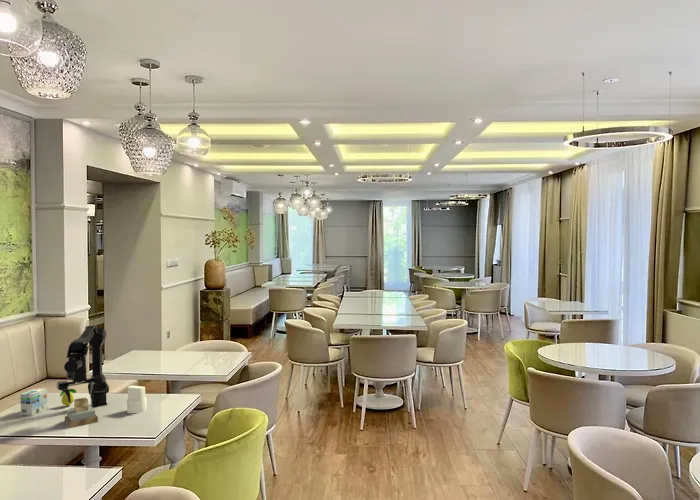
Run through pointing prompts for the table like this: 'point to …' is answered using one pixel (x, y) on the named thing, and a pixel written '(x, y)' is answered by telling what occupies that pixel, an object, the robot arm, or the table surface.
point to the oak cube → (81, 404)
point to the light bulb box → (34, 401)
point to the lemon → (65, 399)
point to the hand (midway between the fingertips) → (80, 400)
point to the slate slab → (80, 414)
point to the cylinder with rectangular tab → (136, 399)
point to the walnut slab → (80, 421)
